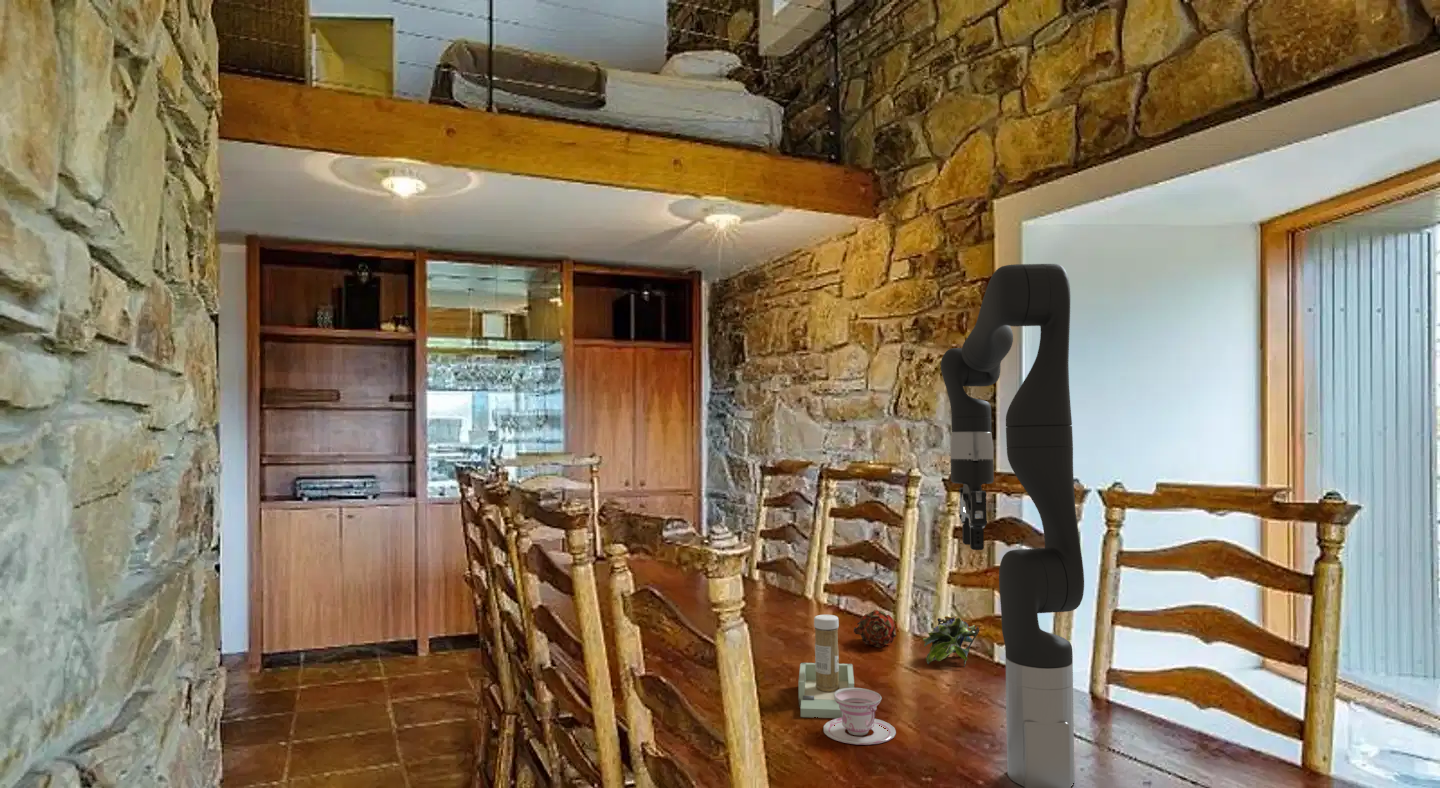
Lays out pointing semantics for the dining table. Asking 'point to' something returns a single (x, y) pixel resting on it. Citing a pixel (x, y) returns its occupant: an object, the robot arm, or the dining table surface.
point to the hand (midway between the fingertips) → (972, 547)
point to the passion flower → (949, 639)
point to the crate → (821, 692)
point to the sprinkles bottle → (826, 652)
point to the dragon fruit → (876, 629)
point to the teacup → (858, 718)
